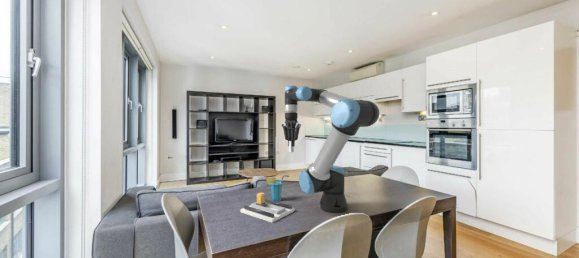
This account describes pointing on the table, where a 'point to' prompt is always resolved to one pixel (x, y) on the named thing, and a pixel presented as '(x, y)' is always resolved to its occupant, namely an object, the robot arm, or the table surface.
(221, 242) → the table surface
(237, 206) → the table surface
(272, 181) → the cup
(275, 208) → the panel
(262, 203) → the lever
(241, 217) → the table surface
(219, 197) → the table surface
